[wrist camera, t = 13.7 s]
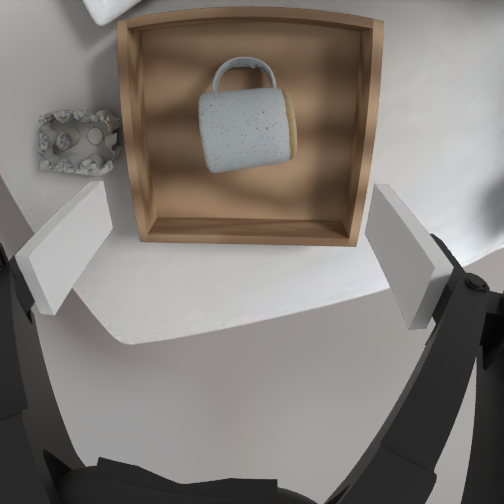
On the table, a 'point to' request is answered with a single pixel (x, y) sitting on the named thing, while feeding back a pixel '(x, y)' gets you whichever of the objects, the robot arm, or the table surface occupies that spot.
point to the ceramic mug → (246, 123)
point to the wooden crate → (240, 78)
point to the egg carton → (71, 137)
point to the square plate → (107, 9)
